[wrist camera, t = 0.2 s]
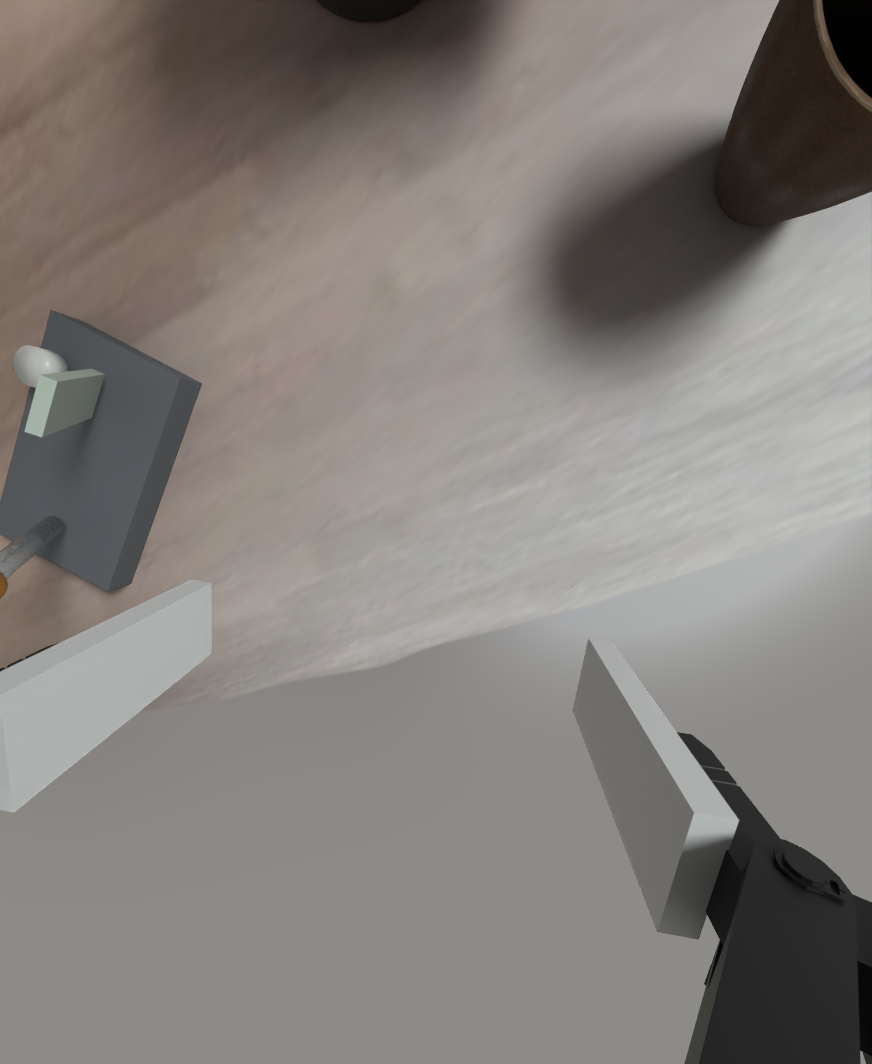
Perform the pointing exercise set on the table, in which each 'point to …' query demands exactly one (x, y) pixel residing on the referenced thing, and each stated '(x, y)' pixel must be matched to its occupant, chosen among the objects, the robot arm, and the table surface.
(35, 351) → the white push button
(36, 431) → the sage paddle
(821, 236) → the table surface
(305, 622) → the table surface
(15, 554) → the steel toggle lever
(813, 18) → the plant pot
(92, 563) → the switch panel
